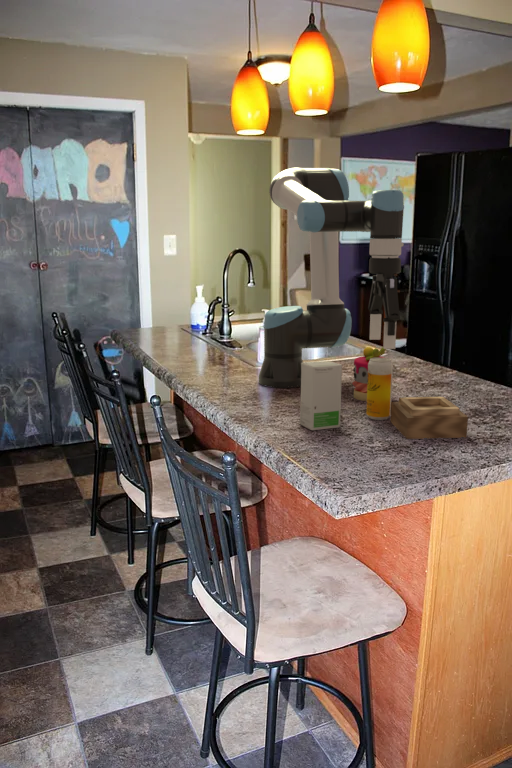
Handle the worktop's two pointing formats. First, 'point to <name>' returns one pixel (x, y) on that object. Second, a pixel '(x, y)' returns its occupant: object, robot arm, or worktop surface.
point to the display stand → (428, 418)
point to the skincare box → (320, 395)
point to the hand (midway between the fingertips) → (381, 344)
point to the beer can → (379, 388)
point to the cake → (363, 372)
